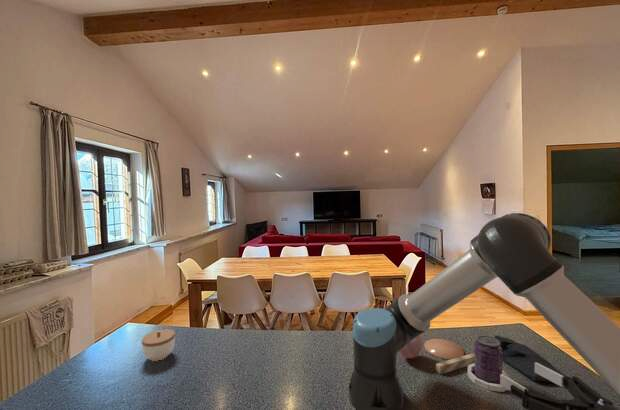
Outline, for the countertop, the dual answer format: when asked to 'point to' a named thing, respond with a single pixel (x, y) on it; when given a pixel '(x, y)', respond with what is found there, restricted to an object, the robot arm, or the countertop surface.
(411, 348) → the decorative fruit
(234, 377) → the countertop surface
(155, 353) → the lidded jar
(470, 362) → the wooden bar
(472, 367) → the ring
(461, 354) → the coaster
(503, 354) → the dark slate chunk
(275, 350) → the countertop surface
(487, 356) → the beverage can
